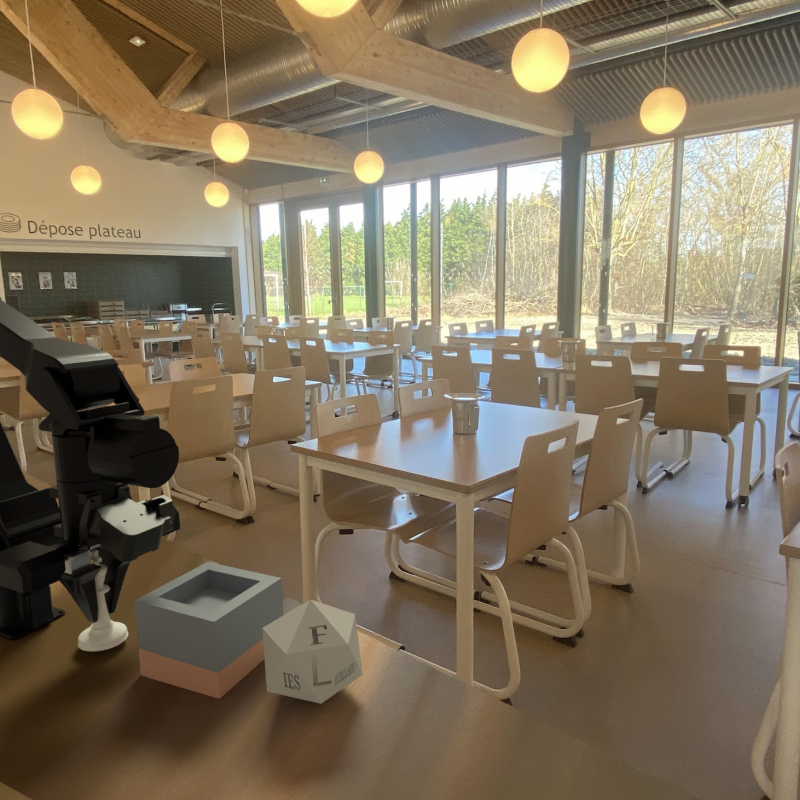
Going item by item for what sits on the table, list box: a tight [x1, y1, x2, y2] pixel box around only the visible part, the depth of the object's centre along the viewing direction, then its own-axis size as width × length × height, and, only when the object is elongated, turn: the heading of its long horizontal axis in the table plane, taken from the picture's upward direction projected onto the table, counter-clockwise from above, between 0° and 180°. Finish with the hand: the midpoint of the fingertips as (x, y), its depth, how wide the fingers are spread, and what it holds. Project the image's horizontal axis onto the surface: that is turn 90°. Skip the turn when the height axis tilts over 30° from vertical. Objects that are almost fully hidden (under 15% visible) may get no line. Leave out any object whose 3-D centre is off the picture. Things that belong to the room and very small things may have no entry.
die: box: [262, 599, 364, 705], centre depth 58 cm, size 8×9×10 cm
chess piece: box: [77, 550, 129, 652], centre depth 68 cm, size 5×5×10 cm
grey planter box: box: [134, 561, 284, 699], centre depth 65 cm, size 10×10×8 cm
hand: (101, 617), depth 69 cm, fingers closed on chess piece, 2 cm apart
